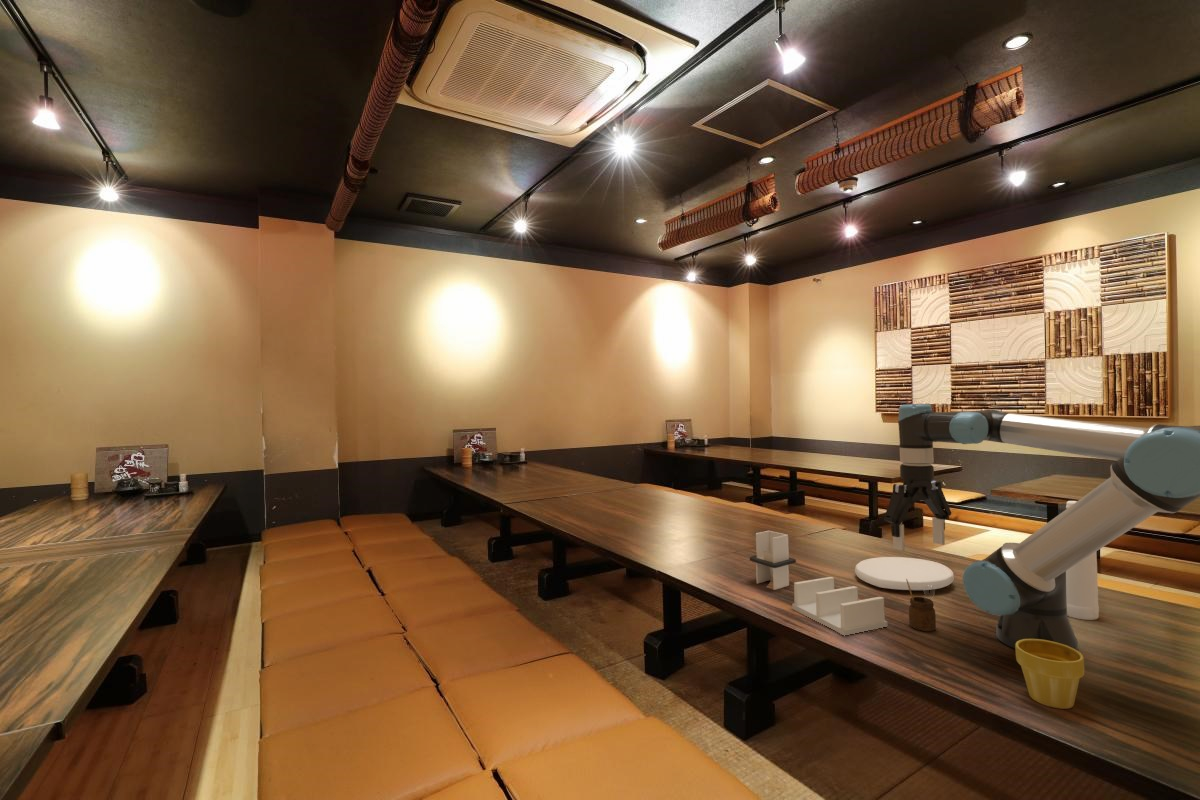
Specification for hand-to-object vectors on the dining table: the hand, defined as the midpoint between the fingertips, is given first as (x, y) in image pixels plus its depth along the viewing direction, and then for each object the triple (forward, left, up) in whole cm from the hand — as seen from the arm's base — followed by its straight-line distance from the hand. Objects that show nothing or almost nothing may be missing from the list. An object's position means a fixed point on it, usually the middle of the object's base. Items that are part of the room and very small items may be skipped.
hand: (919, 546), depth 140 cm
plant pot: (-34, +7, -21) cm, 41 cm away
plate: (+28, -25, -21) cm, 43 cm away
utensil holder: (0, 0, -21) cm, 21 cm away
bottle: (-10, -44, -21) cm, 50 cm away
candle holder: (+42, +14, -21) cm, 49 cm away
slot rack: (+13, +15, -21) cm, 29 cm away
